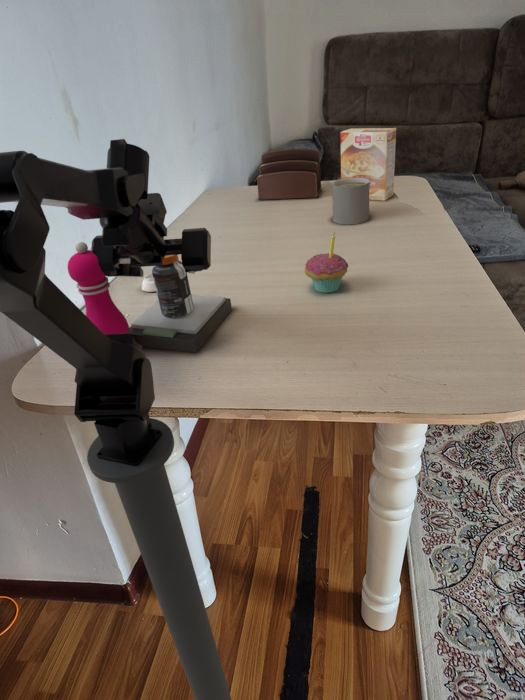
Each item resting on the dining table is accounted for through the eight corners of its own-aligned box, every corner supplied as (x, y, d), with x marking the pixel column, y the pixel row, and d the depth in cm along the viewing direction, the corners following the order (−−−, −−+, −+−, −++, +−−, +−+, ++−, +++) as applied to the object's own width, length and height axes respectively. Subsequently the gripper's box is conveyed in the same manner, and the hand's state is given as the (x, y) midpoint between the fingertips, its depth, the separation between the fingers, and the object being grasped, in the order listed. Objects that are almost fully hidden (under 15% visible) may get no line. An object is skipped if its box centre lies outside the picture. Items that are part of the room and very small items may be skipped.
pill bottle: (200, 309, 88) (189, 250, 83) (175, 322, 85) (162, 261, 79) (180, 301, 92) (168, 244, 86) (155, 314, 89) (141, 255, 83)
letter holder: (265, 192, 169) (261, 150, 162) (321, 190, 164) (320, 146, 157) (258, 200, 161) (254, 156, 154) (317, 198, 156) (315, 152, 149)
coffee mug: (368, 223, 130) (369, 185, 125) (331, 225, 132) (330, 187, 127) (369, 209, 141) (370, 173, 136) (335, 210, 143) (334, 175, 138)
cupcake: (354, 283, 99) (354, 225, 93) (337, 300, 93) (335, 240, 87) (317, 277, 103) (314, 222, 97) (298, 293, 98) (294, 236, 91)
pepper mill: (84, 360, 83) (45, 249, 73) (110, 339, 89) (77, 233, 78) (118, 366, 80) (83, 251, 70) (142, 343, 86) (113, 235, 75)
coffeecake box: (340, 198, 154) (339, 131, 144) (350, 192, 159) (350, 127, 149) (385, 201, 146) (387, 131, 136) (394, 194, 151) (397, 127, 141)
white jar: (164, 291, 105) (164, 282, 110) (162, 278, 104) (162, 270, 108) (142, 294, 105) (142, 285, 109) (138, 282, 103) (139, 273, 107)
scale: (195, 353, 82) (192, 336, 80) (126, 345, 86) (121, 329, 85) (232, 309, 94) (229, 294, 93) (169, 305, 99) (166, 290, 97)
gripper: (198, 174, 69) (221, 226, 84) (75, 185, 71) (119, 233, 87) (196, 246, 67) (220, 286, 82) (69, 255, 69) (115, 292, 84)
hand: (167, 272), depth 84 cm, fingers open, 9 cm apart
